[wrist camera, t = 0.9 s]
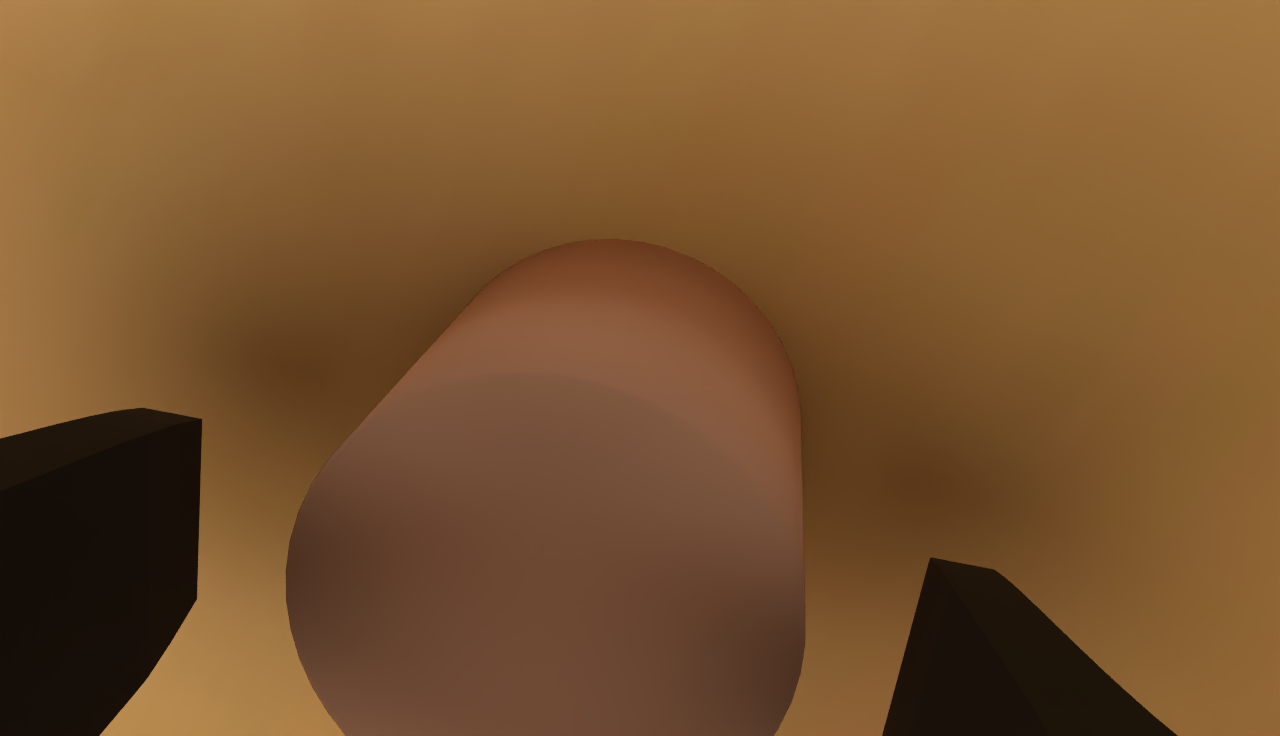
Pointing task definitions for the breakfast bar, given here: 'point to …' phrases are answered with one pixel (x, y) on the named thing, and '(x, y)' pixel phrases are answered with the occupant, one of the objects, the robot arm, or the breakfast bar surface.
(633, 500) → the salmon cylinder
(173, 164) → the breakfast bar surface
